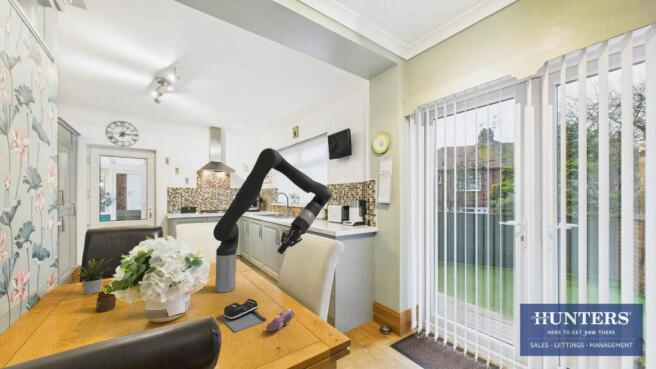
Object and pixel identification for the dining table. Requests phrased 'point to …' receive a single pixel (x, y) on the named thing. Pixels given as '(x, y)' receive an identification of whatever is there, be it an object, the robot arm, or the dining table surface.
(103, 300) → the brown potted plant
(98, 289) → the house plant
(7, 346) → the dining table surface
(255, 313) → the strip
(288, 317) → the purple lumpy piece
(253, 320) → the mat
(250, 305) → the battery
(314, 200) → the robot arm
